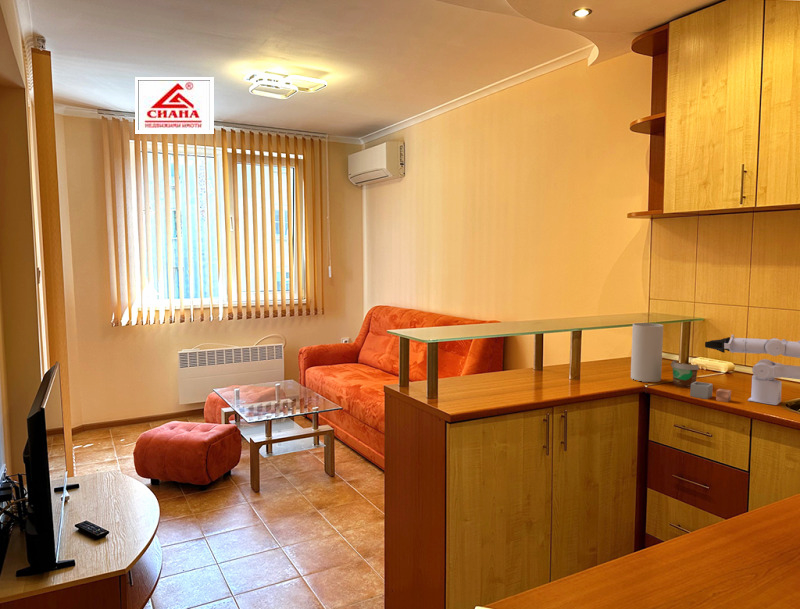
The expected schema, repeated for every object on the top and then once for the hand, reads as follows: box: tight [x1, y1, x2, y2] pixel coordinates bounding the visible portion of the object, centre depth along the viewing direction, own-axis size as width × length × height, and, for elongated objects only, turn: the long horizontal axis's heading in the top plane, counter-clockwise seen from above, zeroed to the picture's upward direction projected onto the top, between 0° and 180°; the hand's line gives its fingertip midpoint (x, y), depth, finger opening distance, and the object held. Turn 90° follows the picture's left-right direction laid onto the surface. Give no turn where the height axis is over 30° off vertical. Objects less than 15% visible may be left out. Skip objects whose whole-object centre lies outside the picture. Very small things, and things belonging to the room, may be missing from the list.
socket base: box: [689, 381, 713, 400], centre depth 220 cm, size 6×6×5 cm
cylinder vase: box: [630, 322, 664, 383], centre depth 248 cm, size 12×12×25 cm
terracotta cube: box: [715, 388, 732, 403], centre depth 214 cm, size 4×4×4 cm
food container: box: [670, 359, 700, 389], centre depth 238 cm, size 12×6×10 cm, turn 21°
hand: (707, 343), depth 224 cm, fingers open, 7 cm apart
